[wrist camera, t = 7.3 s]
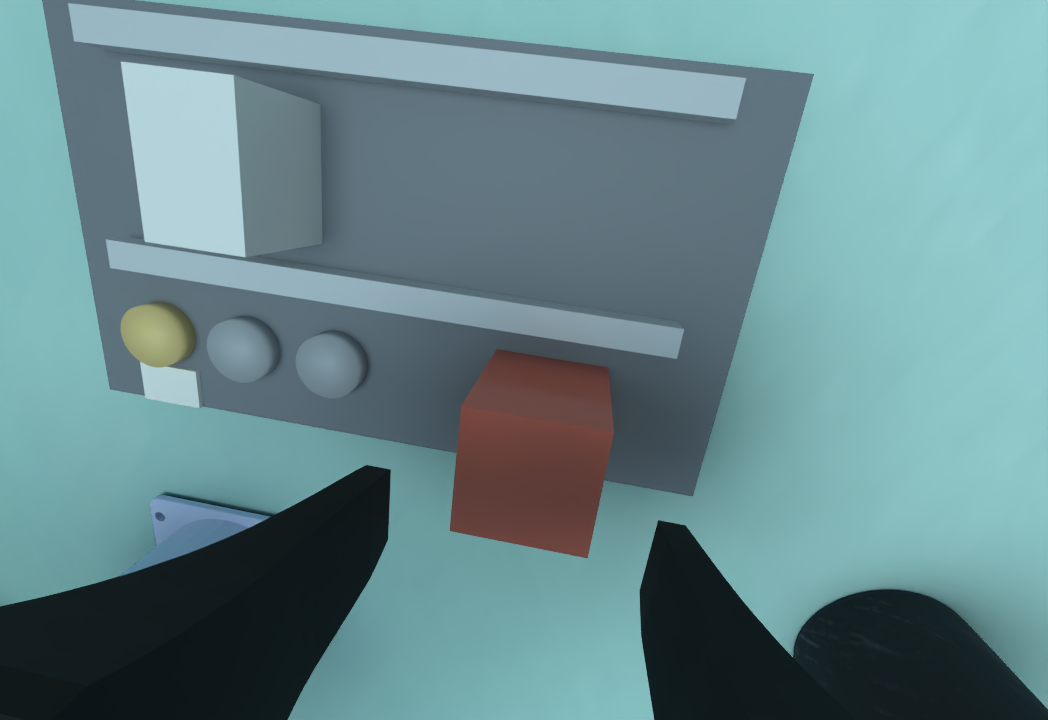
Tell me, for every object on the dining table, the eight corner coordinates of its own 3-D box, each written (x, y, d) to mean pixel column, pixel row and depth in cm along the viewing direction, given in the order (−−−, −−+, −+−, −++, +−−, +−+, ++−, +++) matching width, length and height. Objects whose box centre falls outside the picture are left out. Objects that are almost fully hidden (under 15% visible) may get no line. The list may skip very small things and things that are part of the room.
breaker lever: (322, 243, 17) (245, 257, 13) (242, 231, 17) (145, 241, 13) (320, 104, 16) (233, 74, 12) (233, 93, 16) (120, 60, 12)
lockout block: (588, 465, 18) (587, 557, 14) (485, 446, 19) (449, 531, 14) (607, 367, 17) (614, 432, 12) (496, 349, 17) (461, 405, 13)
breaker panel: (685, 474, 20) (698, 512, 17) (141, 376, 22) (86, 398, 19) (792, 85, 15) (830, 65, 13) (86, 7, 17) (4, -24, 15)
